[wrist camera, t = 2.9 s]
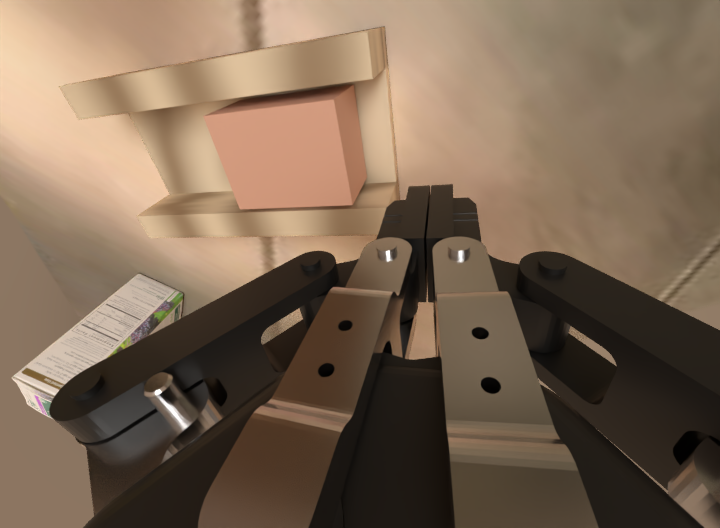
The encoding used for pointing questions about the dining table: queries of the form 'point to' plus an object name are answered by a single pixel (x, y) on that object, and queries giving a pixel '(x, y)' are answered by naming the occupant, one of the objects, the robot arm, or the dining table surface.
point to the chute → (226, 86)
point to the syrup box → (99, 337)
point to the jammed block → (291, 148)
